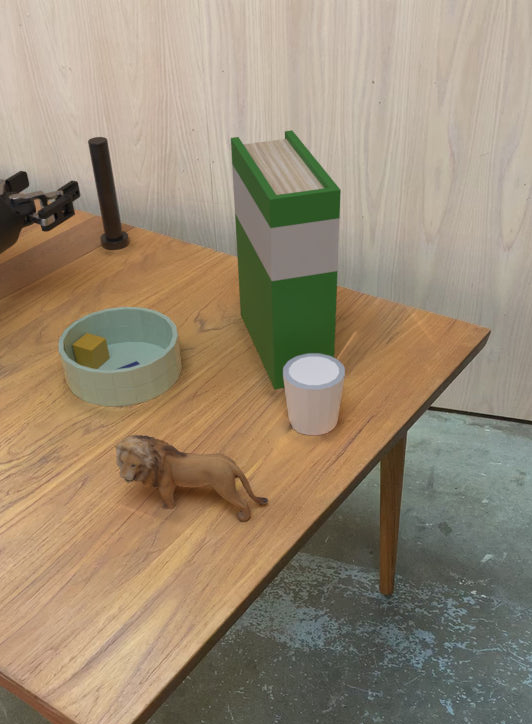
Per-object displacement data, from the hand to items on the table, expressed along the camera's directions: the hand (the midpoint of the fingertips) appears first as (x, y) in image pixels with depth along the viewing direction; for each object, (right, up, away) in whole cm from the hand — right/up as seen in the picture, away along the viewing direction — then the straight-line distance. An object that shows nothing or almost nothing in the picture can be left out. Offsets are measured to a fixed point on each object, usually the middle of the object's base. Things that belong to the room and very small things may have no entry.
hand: (51, 182), depth 107 cm
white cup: (+35, -34, -17) cm, 51 cm away
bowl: (+12, -27, -9) cm, 31 cm away
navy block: (+14, -30, -13) cm, 35 cm away
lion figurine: (+22, -43, -26) cm, 55 cm away
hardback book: (+32, -24, -6) cm, 40 cm away
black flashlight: (+5, -3, +17) cm, 18 cm away
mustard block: (+7, -26, -8) cm, 28 cm away
